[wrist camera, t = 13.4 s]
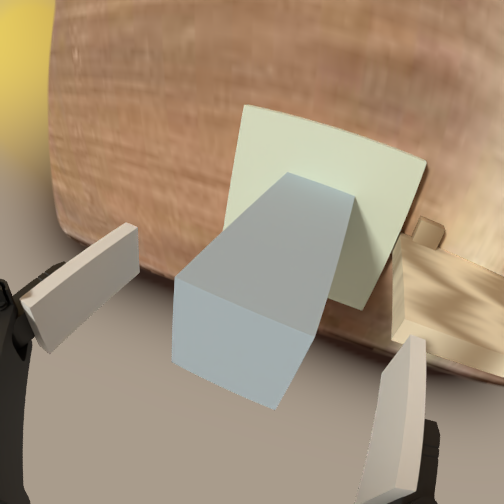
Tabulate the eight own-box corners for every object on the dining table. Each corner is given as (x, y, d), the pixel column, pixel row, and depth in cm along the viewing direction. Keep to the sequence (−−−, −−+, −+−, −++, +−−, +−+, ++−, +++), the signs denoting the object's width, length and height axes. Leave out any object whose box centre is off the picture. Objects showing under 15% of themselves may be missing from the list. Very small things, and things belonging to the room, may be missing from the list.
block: (287, 171, 22) (175, 277, 11) (355, 196, 21) (314, 336, 10) (271, 233, 25) (171, 363, 13) (331, 256, 24) (274, 411, 12)
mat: (223, 252, 28) (219, 256, 28) (248, 104, 21) (244, 105, 21) (362, 304, 26) (362, 310, 25) (425, 160, 19) (426, 162, 18)
